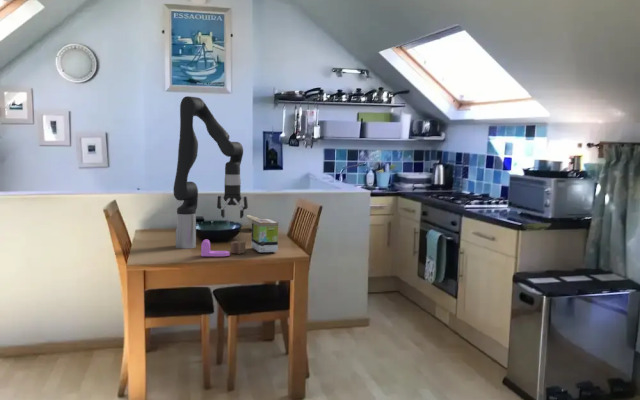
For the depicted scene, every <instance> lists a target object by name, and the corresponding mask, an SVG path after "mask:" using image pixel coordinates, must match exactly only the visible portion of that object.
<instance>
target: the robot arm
mask: <svg viewBox="0 0 640 400" xmlns="http://www.w3.org/2000/svg"><path fill="white" fill-rule="evenodd" d="M179 117H180V118H179V121H180V126H179V128H180V129H179V140H178V149H177V150H178V152H177V155H178V156H177V164H176V173H175V179H174V183H173V196H174V198H175V199H176V200H177V201H181V202H182V201H183V203H182V204H181V205H179V206H178V207H177V209H176V229H175V249H193V248H196V247H197V218H196V217H197V213H196V212H197V209H198V201H199V199H198V198H199V190H198V186H197V183H195V182H194V181H188V177H189V173H190V171H191V168H192V167H193V166H194V164H195V163H196V160H197V157H198V150H199V142H198V138H197V136H196V132H195V130H194V117H197V118H198V119H199V120H201V121H202V122H203V123H204V125H205V127H206V130H207V133H208V135H209V136H210V138H212V140H214V141H215V143H216V144H217V146H218V148H219V150H220V152H221V153H222V154H223V155H224V156H226V157H229V161H227V162H226V163H225V166H224V167H225V168H224V195H223V196H222V195H218V196H217V201H216V202H217V203H216V205H217V206H216V208H217V209H219V210H220V217H222V219H224V218H225V217H226V212H225V211H226V207H227V206H237V207H238V208H239V209H240V210H239V219H242V218H243V217H244V215H245V214H244V212H245V210H247V209H248V208H249V207H248V196H241V183H242V182H241V181H242V179H241V163H242V160H243V155H244V148H243V145H242V144H241V142H238V141H231V140H230V135H229V132H227V131H226V129H225V128H224V127H223V126H222V125H221V124H220V123H219V122H218V121H217V119H216V118H215V117H214V115H213V113H212V112H211V110H210V109H209V107H208V106H207V104H206V103H205V101H204V100H203V99H202V98H200V97H196V96H185V97H182V99H181V101H180V106H179ZM223 200H224V203H223V205H222V201H223ZM241 200H242V201H243V205H242V203H241Z"/></svg>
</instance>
